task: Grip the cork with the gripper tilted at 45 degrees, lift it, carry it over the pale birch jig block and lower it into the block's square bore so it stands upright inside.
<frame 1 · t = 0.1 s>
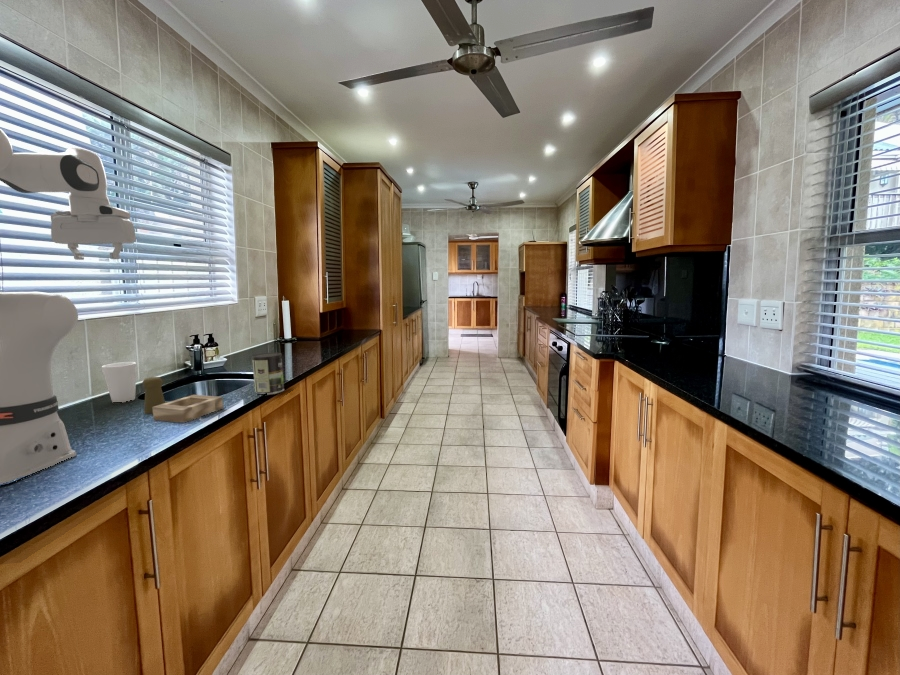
hand: (97, 259, 119), 48 cm above the counter, tool pointing down, fingers open, 8 cm apart
coffee can: (269, 392, 153), on the counter
jig block: (189, 414, 127), on the counter
cork: (155, 411, 131), on the counter
foam cup: (123, 400, 144), on the counter
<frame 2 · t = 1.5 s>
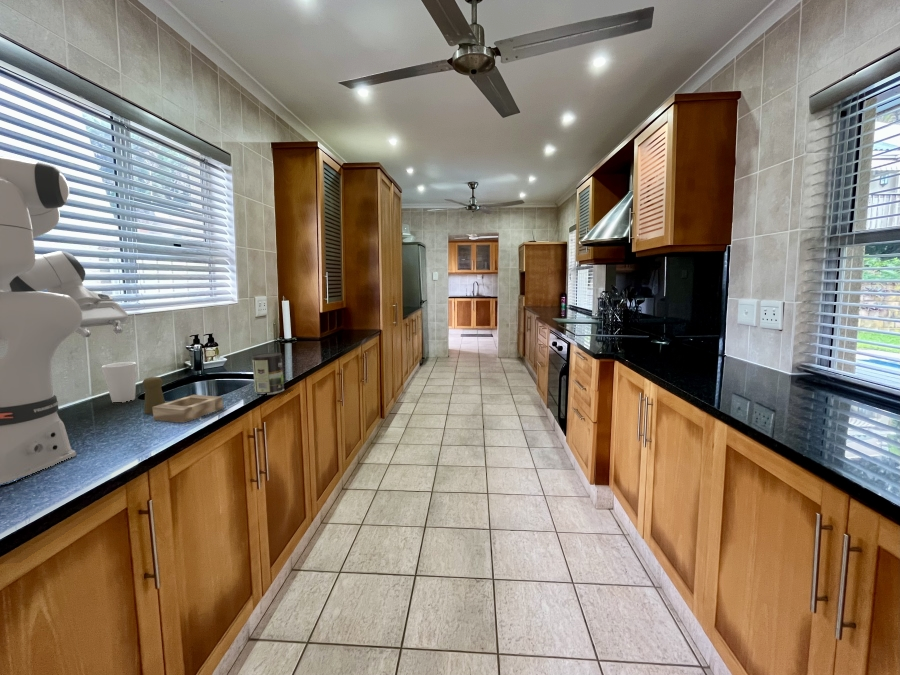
hand: (104, 333, 131), 25 cm above the counter, tool tilted 45°, fingers open, 8 cm apart
nothing on the counter moved.
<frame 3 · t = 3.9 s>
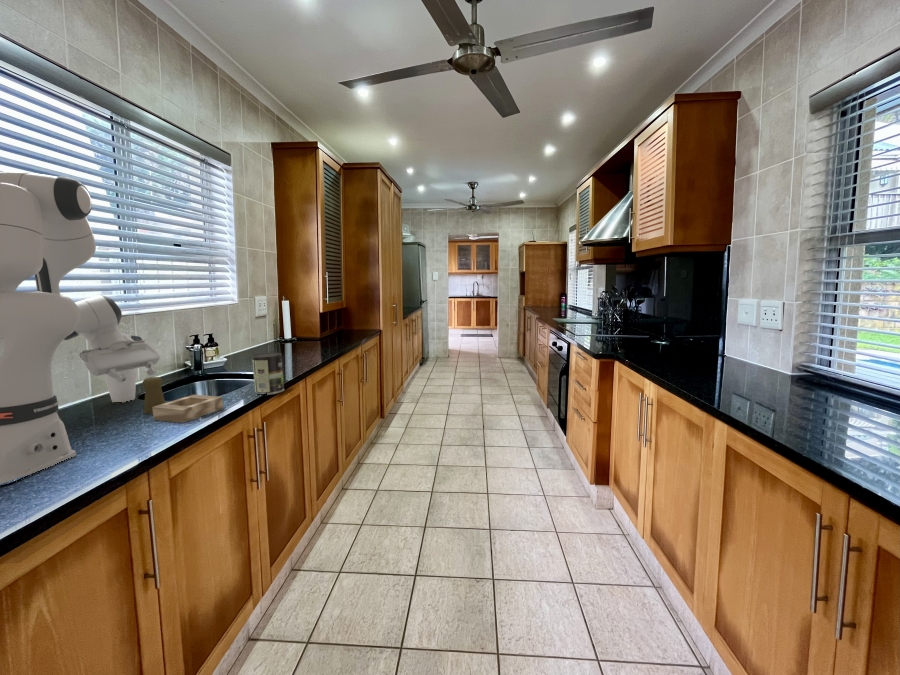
hand: (138, 377, 132), 11 cm above the counter, tool tilted 45°, fingers open, 8 cm apart
nothing on the counter moved.
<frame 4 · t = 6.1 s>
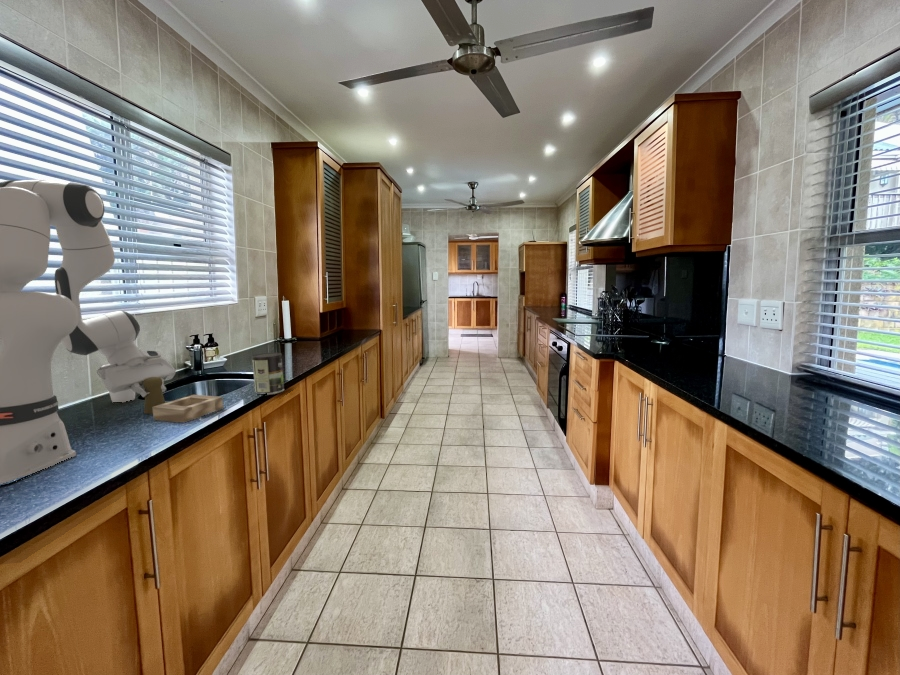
hand: (155, 393, 130), 6 cm above the counter, tool tilted 45°, fingers closed on cork, 4 cm apart
cork: (155, 411, 131), on the counter, touching gripper
everything else where it was.
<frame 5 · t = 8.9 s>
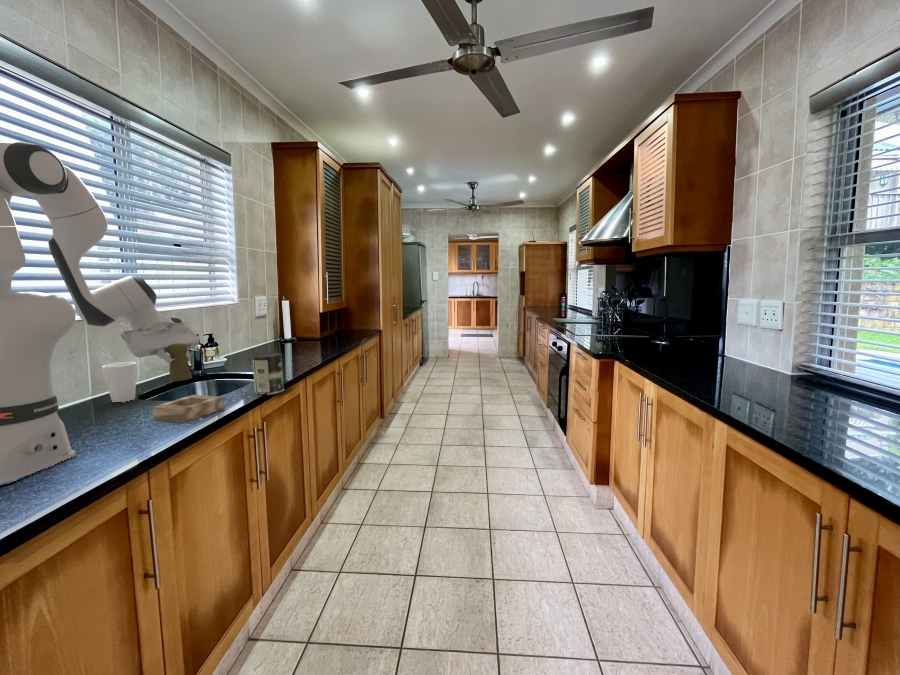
hand: (180, 360, 125), 17 cm above the counter, tool tilted 45°, fingers closed on cork, 4 cm apart
cork: (180, 379, 126), point 11 cm above the counter, touching gripper
everything else where it was.
when the fingers open (7 cm above the counter, at t = 12.0 s): cork moves 1 cm, resting in jig block.
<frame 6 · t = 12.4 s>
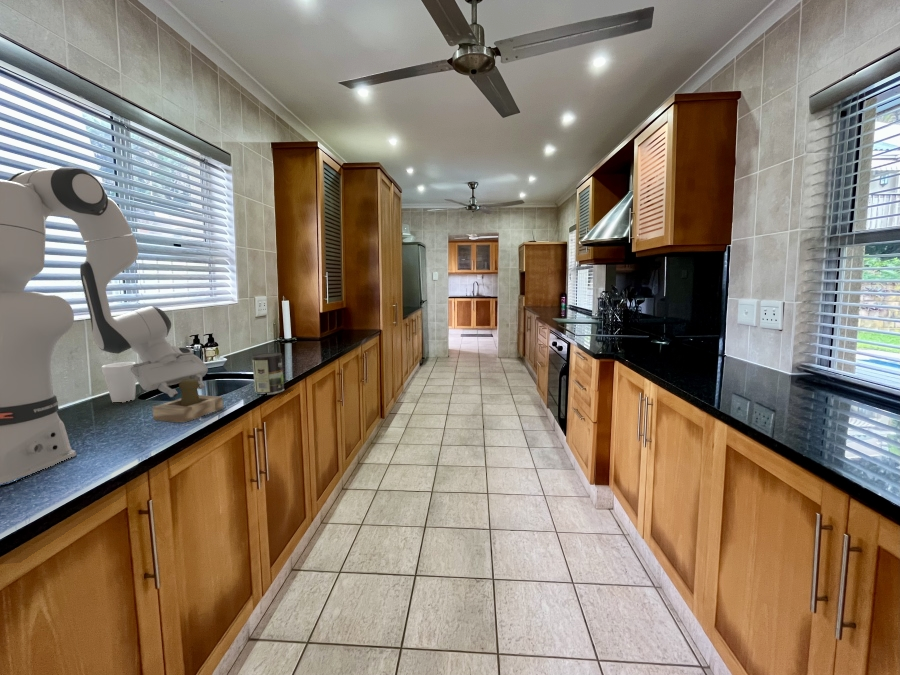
hand: (188, 391, 126), 7 cm above the counter, tool tilted 45°, fingers open, 8 cm apart
cork: (191, 414, 127), resting in jig block
everything else where it was.
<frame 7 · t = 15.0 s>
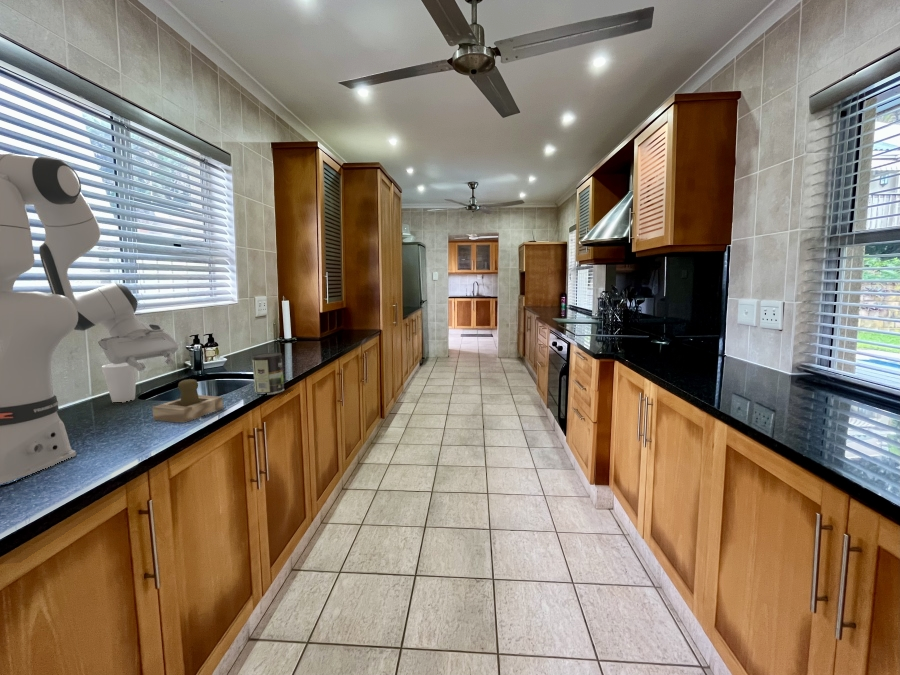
hand: (157, 366, 129), 15 cm above the counter, tool tilted 45°, fingers open, 8 cm apart
nothing on the counter moved.
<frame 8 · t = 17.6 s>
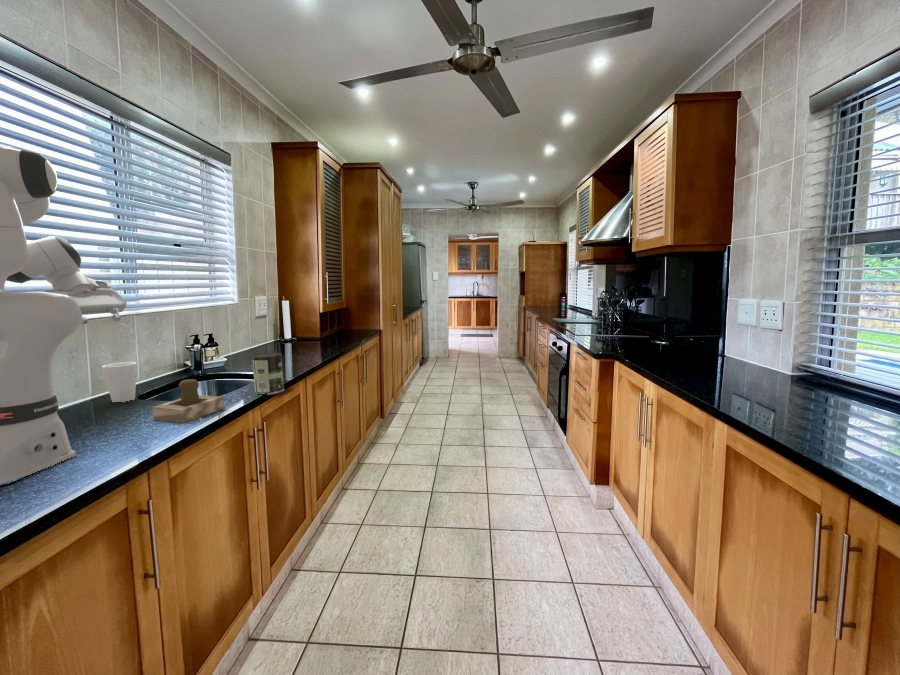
hand: (102, 321, 127), 29 cm above the counter, tool tilted 45°, fingers open, 8 cm apart
nothing on the counter moved.
at the end: cork 0.6 cm off-centre on the jig block, point 0.0 cm above the jig block's base; cork tilted 1°; the gripper is holding nothing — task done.
